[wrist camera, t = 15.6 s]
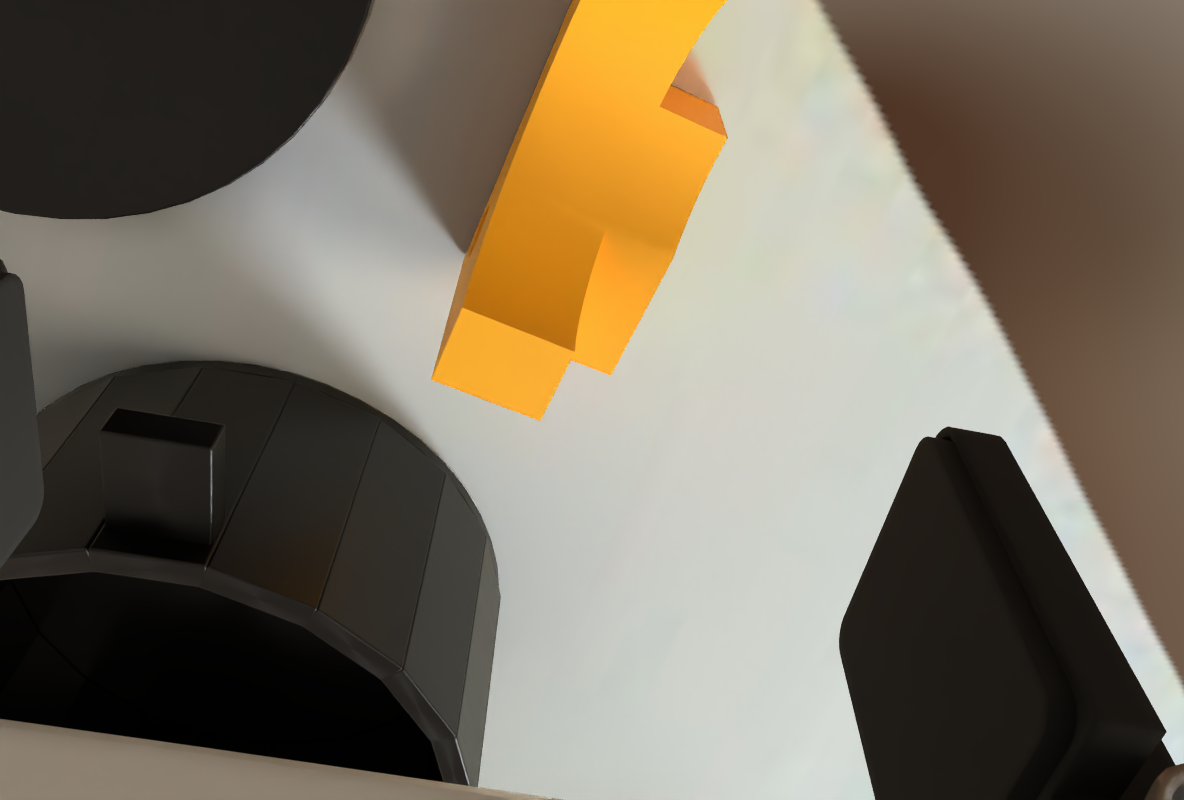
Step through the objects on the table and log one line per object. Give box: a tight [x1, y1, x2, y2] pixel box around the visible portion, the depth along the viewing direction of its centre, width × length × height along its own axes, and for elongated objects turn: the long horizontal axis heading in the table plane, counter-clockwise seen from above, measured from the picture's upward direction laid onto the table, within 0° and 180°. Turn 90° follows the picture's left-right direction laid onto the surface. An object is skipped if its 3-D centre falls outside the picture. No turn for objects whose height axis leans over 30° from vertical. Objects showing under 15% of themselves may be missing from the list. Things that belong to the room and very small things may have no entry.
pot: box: [0, 361, 500, 787], centre depth 31 cm, size 16×22×8 cm
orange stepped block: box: [431, 0, 728, 421], centre depth 23 cm, size 12×4×6 cm, turn 156°
